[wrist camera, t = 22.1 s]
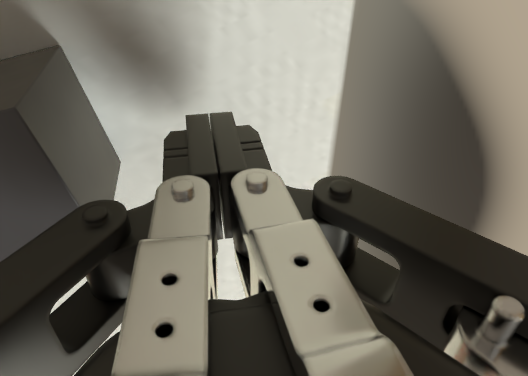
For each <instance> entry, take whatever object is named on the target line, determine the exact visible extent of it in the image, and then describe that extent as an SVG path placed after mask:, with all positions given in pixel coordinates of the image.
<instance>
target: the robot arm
mask: <svg viewBox="0 0 528 376" xmlns="http://www.w3.org/2000/svg"><path fill="white" fill-rule="evenodd" d="M210 125H211V129H210ZM186 128H187V130H184V131H172V132H170V133H169V134H168V136H167V137H166V138H165V139H164V155H163V157H164V159H163V183H162V184H160V186H159V187H158V188H157V190H156V194H155V199H154V200H152V201H151V202H149V203H147V204H145V205H143V206H140V207H137V208H134V209H131V210H128V211H127V210H126V208H125V206H124V205H123V204H121V203H120V202H117V201H114V200H97V201H92V202H89V203H86V204H84V205H82V206H80V207H78V208H76V209H75V210H74V211H72V212H71V213H69V214H68V215H66V216H65V217H64V218H62V219H61V220H59V221H58V222H57V223H55V224H54V225H52V226H51V227H49V228H48V229H47V230H45V231H44V232H42V233H41V234H39V235H38V236H37V237H35V238H34V239H32V240H31V241H30V242H28V243H27V244H25V245H24V246H22V247H21V248H20V249H18V250H17V251H15V252H14V253H13V254H11V255H10V256H8V257H7V258H5V259H4V260H3V261H1V262H0V376H72V375H73V374H74V373H75V372H76V371H77V370H78V369H79V368H80V367H81V366H82V365H83V363H84V362H85V361H86V360H87V359H88V358H89V357H90V356H91V355H92V354H93V353H94V352H95V353H94V354H93V355H92V356H91V357H90V358H89V359H88V360H87V361H86V363H85V364H84V365H83V366H82V367H81V368H80V369H79V371H78V372H77V373H76V374H75V375H74V376H528V256H526V255H524V254H521V253H519V252H517V251H515V250H512V249H510V248H507V247H505V246H503V245H501V244H499V243H496V242H494V241H492V240H490V239H487V238H485V237H483V236H481V235H478V234H476V233H474V232H471V231H469V230H467V229H465V228H463V227H460V226H458V225H456V224H453V223H451V222H449V221H446V220H444V219H442V218H440V217H438V216H435V215H433V214H431V213H429V212H426V211H424V210H422V209H420V208H417V207H415V206H413V205H410V204H408V203H406V202H404V201H401V200H399V199H397V198H395V197H392V196H390V195H388V194H386V193H383V192H381V191H379V190H376V189H374V188H372V187H370V186H367V185H365V184H363V183H360V182H358V181H356V180H354V179H351V178H348V177H342V176H330V177H325V178H323V179H321V180H319V181H318V182H317V183H316V184H315V185H314V189H313V190H304V189H296V188H292V187H289V186H286V185H285V184H284V182H283V180H282V179H281V177H280V176H279V175H278V174H276V173H275V172H273V171H272V169H271V167H270V164H269V161H268V158H267V156H266V153H265V150H264V147H263V145H262V142H261V139H260V136H259V134H258V132H257V131H256V130H255V129H253V128H252V127H251V126H250V125H243V126H236V125H235V121H234V118H233V114H232V112H222V113H210V123H209V117H208V114H197V115H186ZM221 215H222V220H221ZM222 221H223V227H224V234H225V239H226V238H233V240H234V249H235V260H236V264H237V267H238V271H239V274H240V278H241V282H242V285H243V289H244V292H245V296H246V298H245V299H242V300H221V299H218V290H217V258H216V255H217V252H218V243H217V240H219V239H223V233H222ZM359 238H360V239H361V240H363V241H365V242H367V243H369V244H371V245H373V246H375V247H376V248H379V249H380V250H382V251H384V252H386V253H388V254H390V255H391V256H392V257H394V258H395V259H396V261H397V262H398V264H399V266H400V270H398V269H396V268H394V267H393V266H390V265H389V264H387V263H385V262H383V261H381V260H379V259H378V258H376V257H374V256H372V255H370V254H369V253H367V252H365V251H363V250H361V249H359V248H358V247H357V245H358V240H359ZM85 276H86V278H87V282H86V283H85V284H84V285H83V286H82V287H80V288H79V289H78V290H77V291H76V292H75V293H74V294H73V295H71V296H70V297H69V298H68V299H67V300H66V301H65V302H64V303H62V304H61V305H60V306H59V307H58V308H57V309H56V310H55V311H53V312H52V313H51V314H50V312H51V309H52V308H53V306H54V304H55V303H56V302H57V301H58V300H59V299H60V298H61V297H62V296H63V295H64V294H66V293H67V292H68V291H69V290H70V289H71V288H72V287H74V286H75V285H76V284H77V283H78V282H79V281H80V280H82V279H83V278H84V277H85ZM121 323H122V325H121V330H120V332H118V333H116V334H115V335H114V336H113V337H111V338H110V339H109V340H107V341H106V342H105V343H104V344H103V345H102V346H101V347H99V346H100V345H101V344H102V343H103V342H104V341H105V340H106V339H107V338H108V337H109V336H110V334H111V333H112V332H113V331H114V330H115V329H116V328H117V327H118V326H119V325H120V324H121ZM98 347H99V348H98ZM97 348H98V349H97ZM96 349H97V350H96Z"/></svg>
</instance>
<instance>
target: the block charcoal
mask: <svg viewBox="0 0 528 376" xmlns="http://www.w3.org/2000/svg"><path fill="white" fill-rule="evenodd" d="M120 163H121V162H120V160H119V158H118V156H117V154H116V152H115V150H114V148H113V146H112V145H111V143H110V141H109V139H108V137H107V135H106V133H105V131H104V129H103V127H102V125H101V123H100V121H99V119H98V117H97V116H96V114H95V112H94V110H93V108H92V106H91V104H90V102H89V100H88V98H87V96H86V94H85V92H84V90H83V89H82V87H81V85H80V83H79V81H78V79H77V77H76V75H75V73H74V71H73V69H72V67H71V65H70V63H69V61H68V60H67V58H66V56H65V54H64V52H63V50H62V48H61V46H55V47H51V48H47V49H43V50H40V51H36V52H32V53H28V54H24V55H20V56H17V57H13V58H9V59H5V60H1V61H0V262H1V261H3V260H4V259H5V258H7V257H8V256H10V255H11V254H13V253H14V252H15V251H17V250H18V249H20V248H21V247H22V246H24V245H25V244H27V243H28V242H30V241H31V240H32V239H34V238H35V237H37V236H38V235H39V234H41V233H42V232H44V231H45V230H47V229H48V228H49V227H51V226H52V225H54V224H55V223H57V222H58V221H59V220H61V219H62V218H64V217H65V216H66V215H68V214H69V213H71V212H72V211H74V210H75V209H76V208H78V207H80V206H82V205H84V204H86V203H89V202H92V201H97V200H114V195H115V190H116V184H117V179H118V174H119V169H120Z"/></svg>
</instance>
